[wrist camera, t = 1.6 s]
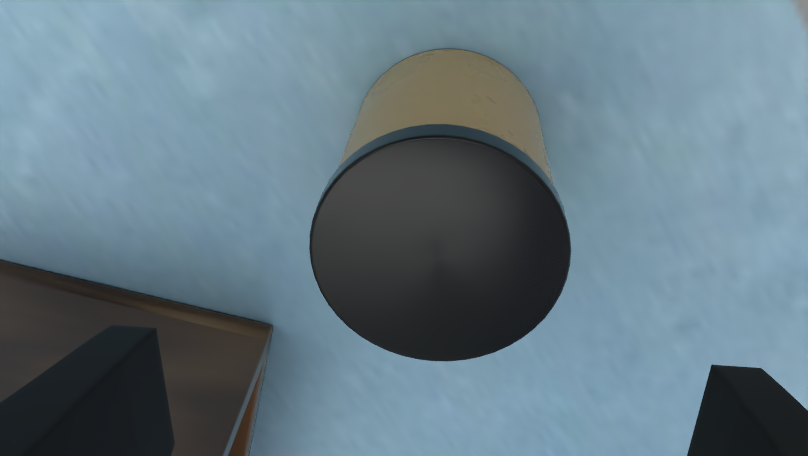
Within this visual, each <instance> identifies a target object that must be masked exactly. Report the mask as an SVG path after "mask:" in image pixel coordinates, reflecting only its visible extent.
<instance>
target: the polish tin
mask: <svg viewBox="0 0 808 456" xmlns="http://www.w3.org/2000/svg"><path fill="white" fill-rule="evenodd" d="M309 249H310V258H311V265H312V268H313V272H314V276H315V279H316V281H317V284H318V286H319V288H320V291H321V293H322V294H323V296H324V298H325V299H326V301H327V303H328V304H329V306H330V307H331V308H332V309H333V311H334V312H335V313H336V315H337V316H338V317H339V318H340V319H341V320H342V321H343V322H344V323H345V324H346V325H347V326H348V327H349V328H351V329H352V330H353V331H355V332H356V333H357V334H358V335H360V336H361V337H363V338H364V339H366V340H368V341H369V342H371V343H373V344H375V345H377V346H379V347H381V348H383V349H385V350H387V351H390V352H393V353H396V354H399V355H402V356H406V357H411V358H415V359H421V360H429V361H457V360H466V359H471V358H476V357H481V356H484V355H487V354H490V353H493V352H496V351H498V350H500V349H503V348H505V347H507V346H509V345H511V344H513V343H514V342H516V341H518V340H519V339H521V338H523V337H524V336H525V335H527V334H528V333H529V332H530V331H532V330H533V329H534V328H535V327H536V326H537V325H538V324H539V323H540V322H541V321H542V320H543V319H544V318H545V317H546V316H547V314H548V313H549V312H550V310H551V309H552V308H553V306H554V305H555V303H556V301H557V300H558V298H559V296H560V294H561V292H562V290H563V287H564V285H565V282H566V280H567V276H568V271H569V267H570V257H571V243H570V233H569V229H568V224H567V220H566V216H565V212H564V208H563V205H562V202H561V200H560V198H559V195H558V193H557V191H556V189H555V188H554V186H553V182H552V177H551V172H550V167H549V163H548V158H547V153H546V148H545V144H544V139H543V134H542V129H541V125H540V120H539V116H538V112H537V109H536V107H535V104H534V102H533V99H532V98H531V96H530V94H529V92H528V91H527V89H526V88H525V87H524V85H523V84H522V83H521V81H520V80H519V79H518V78H517V77H516V76H515V75H514V74H513V73H512V72H511V71H509V70H508V69H507V68H505V67H504V66H503V65H501V64H500V63H498V62H496V61H494V60H492V59H490V58H488V57H486V56H483V55H480V54H478V53H474V52H470V51H466V50H457V49H439V50H432V51H426V52H423V53H419V54H416V55H413V56H411V57H409V58H406V59H404V60H402V61H401V62H399V63H397V64H396V65H394V66H393V67H391V68H390V69H389V70H388V71H386V72H385V73H384V74H383V75H382V76H381V77H380V78H379V79H378V80H377V81H376V82H375V84H374V85H373V86H372V88H371V89H370V91H369V92H368V94H367V96H366V98H365V100H364V101H363V104H362V106H361V109H360V112H359V114H358V117H357V119H356V122H355V125H354V127H353V130H352V133H351V135H350V138H349V141H348V143H347V146H346V148H345V151H344V154H343V156H342V159H341V162H340V164H339V167H338V169H337V170H336V172H335V173H334V174H333V176H332V177H331V178H330V180H329V182H328V184H327V185H326V187H325V189H324V191H323V193H322V196H321V198H320V201H319V203H318V206H317V209H316V211H315V214H314V217H313V220H312V226H311V231H310V247H309Z"/></svg>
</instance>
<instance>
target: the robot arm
mask: <svg viewBox="0 0 808 456" xmlns="http://www.w3.org/2000/svg"><path fill="white" fill-rule="evenodd" d="M174 445H175V441H174V435H173V429H172V422H171V416H170V410H169V404H168V398H167V392H166V385H165V379H164V373H163V367H162V361H161V355H160V349H159V342H158V336H157V330H156V328H150V327H135V326H120V325H111V326H109V327H108V328H106V329H105V330H103V331H101V332H100V333H98V334H97V335H95V336H94V337H92V338H91V339H89V340H88V341H87V342H85V343H84V344H82V345H81V346H79V347H78V348H77V349H75V350H74V351H72V352H71V353H70V354H68V355H67V356H65V357H64V358H63V359H61V360H60V361H58V362H57V363H56V364H54V365H53V366H51V367H50V368H49V369H47V370H46V371H44V372H43V373H42V374H40V375H39V376H37V377H36V378H35V379H33V380H32V381H30V382H29V383H28V384H26V385H25V386H23V387H22V388H20V389H19V390H18V391H16V392H15V393H13V394H12V395H10V396H9V397H8V398H6V399H5V400H3V401H2V402H0V456H171V454H172V451H173V448H174ZM687 456H808V410H806V409H805V408H804V407H803V406H802V405H801V404H800V403H799V402H798V401H797V400H796V399H795V398H794V397H793V396H792V395H790V394H789V393H788V392H787V391H786V390H785V389H784V388H783V387H782V386H781V385H780V384H779V383H777V382H776V381H775V380H774V379H773V378H772V377H771V376H770V375H768V374H767V373H766V372H765V371H764V370H763V369H761V368H751V367H736V366H721V365H711V369H710V373H709V377H708V380H707V384H706V388H705V391H704V395H703V399H702V403H701V406H700V410H699V414H698V417H697V421H696V425H695V428H694V432H693V436H692V440H691V443H690V447H689V451H688V454H687Z"/></svg>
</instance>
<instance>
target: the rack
mask: <svg viewBox="0 0 808 456" xmlns="http://www.w3.org/2000/svg"><path fill="white" fill-rule="evenodd" d="M111 325H120V326H135V327H150V328H156V330H157V336H158V342H159V349H160V355H161V361H162V367H163V373H164V379H165V385H166V392H167V398H168V404H169V410H170V416H171V422H172V429H173V435H174V441H175V445H174V448H173V451H172V454H171V456H249V453H250V448H251V442H252V437H253V432H254V426H255V421H256V416H257V410H258V405H259V400H260V395H261V389H262V384H263V379H264V373H265V368H266V363H267V357H268V352H269V347H270V342H271V336H272V331H273V326H271V325H268V324H264V323H259V322H255V321H251V320H247V319H243V318H239V317H234V316H230V315H226V314H222V313H218V312H214V311H209V310H205V309H201V308H197V307H193V306H188V305H184V304H180V303H176V302H172V301H168V300H163V299H159V298H155V297H151V296H147V295H143V294H138V293H134V292H130V291H126V290H122V289H118V288H113V287H109V286H105V285H101V284H97V283H93V282H88V281H84V280H80V279H76V278H72V277H67V276H63V275H59V274H55V273H51V272H47V271H42V270H38V269H34V268H30V267H26V266H22V265H17V264H13V263H9V262H5V261H1V260H0V402H2V401H3V400H5V399H6V398H8V397H9V396H10V395H12V394H13V393H15V392H16V391H18V390H19V389H20V388H22V387H23V386H25V385H26V384H28V383H29V382H30V381H32V380H33V379H35V378H36V377H37V376H39V375H40V374H42V373H43V372H44V371H46V370H47V369H49V368H50V367H51V366H53V365H54V364H56V363H57V362H58V361H60V360H61V359H63V358H64V357H65V356H67V355H68V354H70V353H71V352H72V351H74V350H75V349H77V348H78V347H79V346H81V345H82V344H84V343H85V342H87V341H88V340H89V339H91V338H92V337H94V336H95V335H97V334H98V333H100V332H101V331H103V330H105V329H106V328H108V327H109V326H111Z"/></svg>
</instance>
